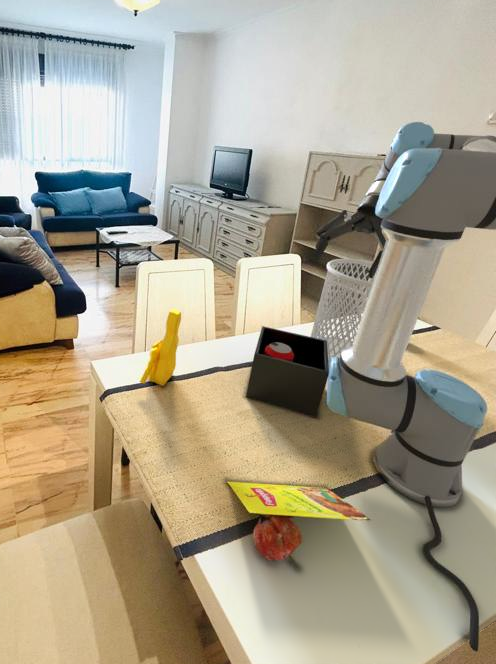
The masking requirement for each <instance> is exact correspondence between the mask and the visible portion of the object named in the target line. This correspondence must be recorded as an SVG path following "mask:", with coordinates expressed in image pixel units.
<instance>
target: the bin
mask: <svg viewBox="0 0 496 664" xmlns="http://www.w3.org/2000/svg"><path fill="white" fill-rule="evenodd" d="M317 338H318V337H317ZM317 338H313V337H311V336H308V335H303V334H299V333H295V332H290V331H285V330H281V329H277V328H272V327H269V326H265V325H264V326H263V325H262V326H261V329H260V332H259V336H258V340H257V344H256V347H255V350H254V354H253V359H252V364H251V368H250V374H249V378H248V384H247V390H246V394H245V398H248V399H251V400H254V401H258V402H261V403H265V404H267V405H272V406H275V407H278V408H280V409H281V408H282V409H285V410H287V411H292V412H294V413H298V414H301V415H305V416H309V417H313V418H317V416H318V413H319V409H320V406H321V403H322V400H323V396H324V392H325V389H326V386H327V384H328V376H329V362H328V348H327V341H326V340H322V339H317ZM273 342H279V343H283V344H286V345H288V346H289V347H290V348H291V350H292V352H293V353H294V358H293V362H290V361H286V360H282V359H278V358H274V357H270V356H266V355H264V351H265V348H266V347H267V346H268V345H270V344H271V343H273Z"/></svg>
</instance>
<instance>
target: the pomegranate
mask: <svg viewBox="0 0 496 664" xmlns="http://www.w3.org/2000/svg"><path fill="white" fill-rule="evenodd" d="M254 515H257V516H259V518H258V522H257V523H256V525H255V526H254V529H253V536H252V537H253V541H254V545H255V548H256V550H257V551H258V553H259V554H260V555H261V556H262V557H263V558H264V559H267V560H268V561H270V562H272V561H274V560H275V561H277V562H282V561H285V558H287V557H288V558H290V559H291V561H292V562H293V564H294V565H295V566H296V568H299V566H298V564H297V563H296V561H295V560H294V558H293V557H292V554H293V553H294V551H295V550H296V549H298V547H299V546H300V545H302V543H303V538H302V537H303V536H302V533H301V530H300V529H299V527H298V526H297V525H296V524H295V522H294V521H293V520H292V519H291V518H290V516H285V515H270V514H258V513H254Z"/></svg>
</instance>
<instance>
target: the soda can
mask: <svg viewBox="0 0 496 664" xmlns="http://www.w3.org/2000/svg"><path fill="white" fill-rule="evenodd" d="M264 355H266V356H270V357H274V358H278V359H282V360H286V361H290V362H293V358H294V353H293V352H292V350H291V348H290V347H289V346H288V345H286V344H283V343H279V342H273V343H271V344H270V345H268V346H267V347H266V348H265V351H264Z"/></svg>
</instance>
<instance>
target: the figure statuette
mask: <svg viewBox="0 0 496 664" xmlns="http://www.w3.org/2000/svg"><path fill="white" fill-rule="evenodd" d="M181 321H182V311H180V310H177V309H173V308H172V309H171V310H170V311H169V312H168V315H167V318H166V323H165V329H166V331H165V335H164V337H163V339H161V340H159V341H158V342H156V343H154V344H153V345H151V349H150V351H149V360H148V362H147V365H146V367H145V369H144V371H143V374H142V376H141V378H140V380H139V383H141V384H144V385H145V384H146V382H147V380H148V381H149V382H152V383H155V384H157V385H159V386H162V387H164V386H165V385H166V383H167V382H168V381H169V380H170V379H171V378H172V376H173V374H174V372H175V370H176V366H177V350H178V346H179V340H180V339H179V336H178V334H179V328H180V326H181V325H180V324H181Z"/></svg>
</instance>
